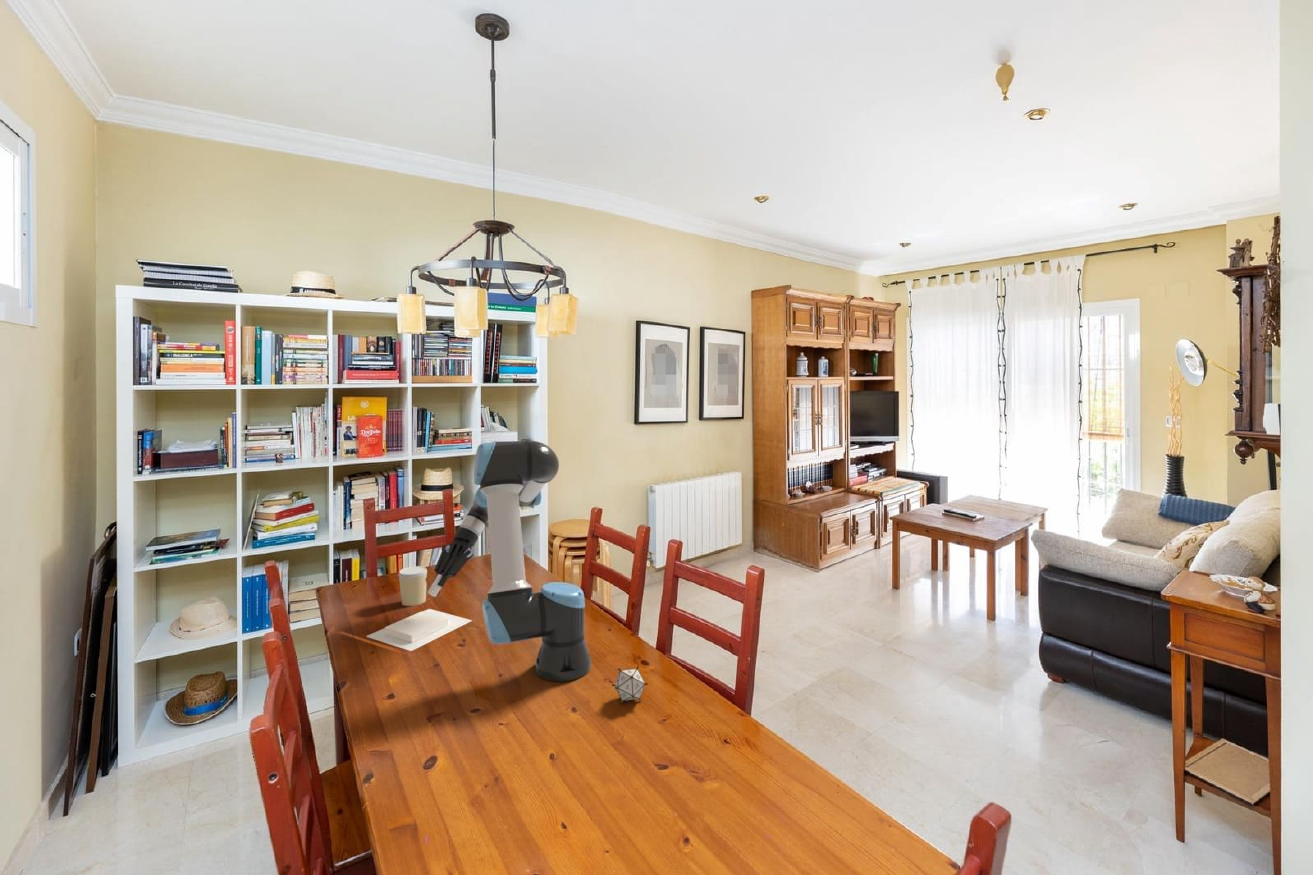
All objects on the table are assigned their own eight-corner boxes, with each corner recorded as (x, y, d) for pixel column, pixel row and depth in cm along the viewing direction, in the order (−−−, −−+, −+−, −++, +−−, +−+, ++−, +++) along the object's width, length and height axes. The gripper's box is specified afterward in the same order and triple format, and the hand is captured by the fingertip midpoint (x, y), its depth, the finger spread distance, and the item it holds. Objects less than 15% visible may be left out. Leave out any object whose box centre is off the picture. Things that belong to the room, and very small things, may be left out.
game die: (621, 714, 143) (598, 680, 143) (644, 690, 148) (622, 658, 149) (637, 713, 135) (613, 677, 136) (661, 688, 141) (637, 654, 142)
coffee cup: (433, 601, 203) (432, 569, 202) (410, 610, 196) (409, 576, 194) (417, 596, 208) (416, 564, 207) (393, 604, 201) (392, 571, 199)
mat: (472, 622, 187) (472, 620, 187) (411, 653, 165) (411, 651, 165) (429, 610, 196) (429, 608, 196) (365, 638, 174) (365, 636, 174)
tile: (448, 618, 182) (411, 635, 170) (448, 625, 183) (412, 642, 170) (422, 611, 188) (384, 627, 176) (422, 617, 188) (385, 634, 176)
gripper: (488, 540, 197) (452, 603, 184) (461, 535, 203) (424, 596, 190) (477, 528, 191) (439, 592, 178) (449, 523, 197) (410, 585, 184)
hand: (431, 594), depth 184 cm, fingers closed
